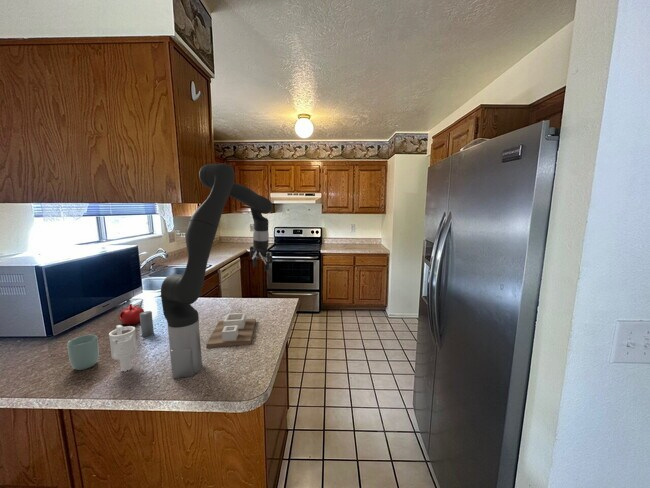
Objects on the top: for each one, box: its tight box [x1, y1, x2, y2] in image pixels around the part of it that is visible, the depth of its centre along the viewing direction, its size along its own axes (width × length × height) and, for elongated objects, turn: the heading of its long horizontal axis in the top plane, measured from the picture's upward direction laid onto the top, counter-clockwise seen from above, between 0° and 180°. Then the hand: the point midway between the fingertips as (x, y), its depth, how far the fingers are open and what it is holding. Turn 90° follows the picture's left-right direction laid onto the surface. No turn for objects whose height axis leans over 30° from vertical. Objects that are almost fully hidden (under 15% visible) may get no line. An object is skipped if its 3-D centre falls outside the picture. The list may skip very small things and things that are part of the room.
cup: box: [66, 333, 100, 371], centre depth 93 cm, size 8×8×10 cm
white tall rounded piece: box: [108, 324, 138, 372], centre depth 91 cm, size 7×7×15 cm
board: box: [205, 318, 257, 349], centre depth 117 cm, size 22×17×2 cm
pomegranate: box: [118, 303, 145, 326], centre depth 129 cm, size 10×10×9 cm
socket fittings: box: [222, 312, 247, 341], centre depth 117 cm, size 19×8×4 cm, turn 9°
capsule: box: [139, 310, 155, 338], centre depth 116 cm, size 4×4×10 cm
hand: (260, 268), depth 138 cm, fingers open, 8 cm apart
